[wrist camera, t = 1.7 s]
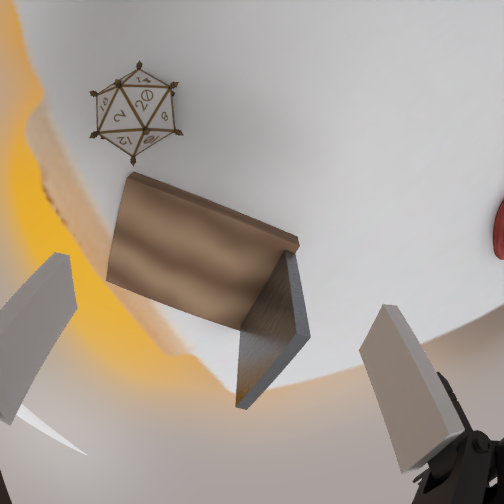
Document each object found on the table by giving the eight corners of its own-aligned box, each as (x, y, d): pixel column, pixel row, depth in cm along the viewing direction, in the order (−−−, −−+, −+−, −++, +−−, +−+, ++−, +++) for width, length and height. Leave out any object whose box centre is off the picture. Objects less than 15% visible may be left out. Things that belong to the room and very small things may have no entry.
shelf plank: (134, 171, 29) (127, 177, 28) (297, 236, 33) (299, 245, 31) (111, 271, 36) (105, 280, 34) (246, 322, 40) (246, 332, 38)
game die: (154, 90, 28) (127, 30, 18) (209, 126, 28) (196, 61, 18) (97, 149, 27) (50, 101, 18) (148, 193, 27) (104, 149, 17)
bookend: (285, 249, 32) (296, 333, 21) (295, 253, 32) (310, 337, 21) (240, 325, 37) (235, 407, 27) (249, 327, 37) (246, 409, 27)
